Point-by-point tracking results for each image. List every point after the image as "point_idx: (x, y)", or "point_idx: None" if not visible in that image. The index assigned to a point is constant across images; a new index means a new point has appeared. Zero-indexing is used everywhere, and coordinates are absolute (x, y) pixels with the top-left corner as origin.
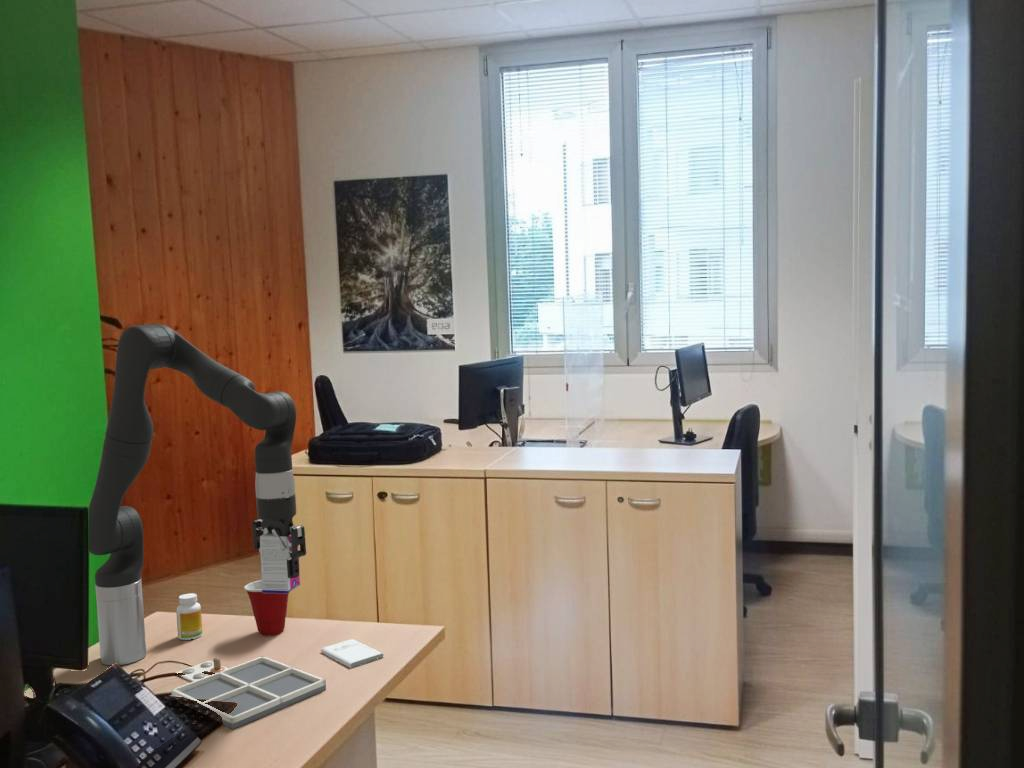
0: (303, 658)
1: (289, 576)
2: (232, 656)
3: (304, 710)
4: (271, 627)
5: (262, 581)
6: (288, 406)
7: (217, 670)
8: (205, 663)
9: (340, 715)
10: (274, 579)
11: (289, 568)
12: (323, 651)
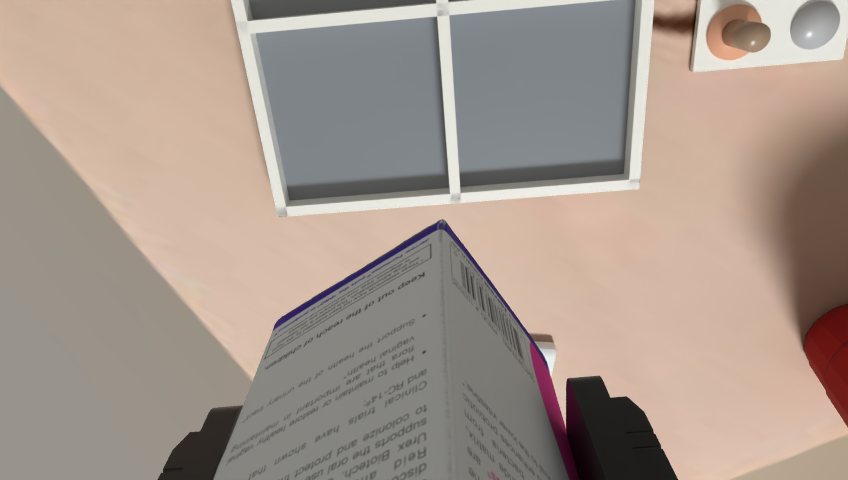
0: (560, 286)
1: (213, 414)
2: (799, 145)
3: (183, 71)
4: (831, 336)
5: (434, 266)
6: None
7: (722, 25)
8: (827, 27)
9: (75, 129)
10: (336, 331)
11: (181, 472)
12: (540, 345)
